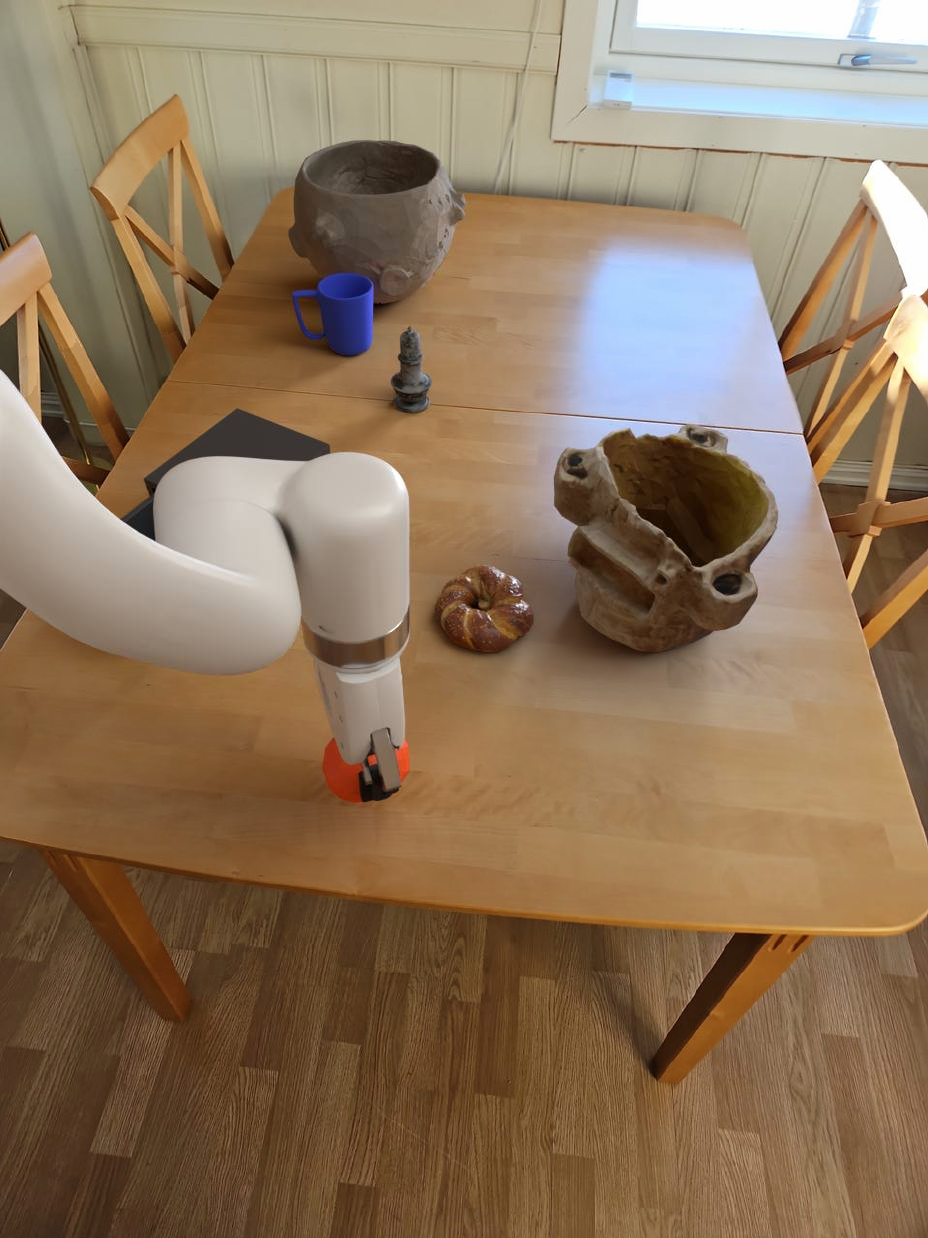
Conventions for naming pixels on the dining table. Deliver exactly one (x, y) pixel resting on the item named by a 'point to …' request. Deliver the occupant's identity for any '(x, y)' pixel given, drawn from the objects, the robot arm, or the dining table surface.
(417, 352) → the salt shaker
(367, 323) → the mug
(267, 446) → the cabinet
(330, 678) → the robot arm
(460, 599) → the pretzel
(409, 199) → the bowl
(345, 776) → the pumpkin
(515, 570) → the dining table surface
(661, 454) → the ceramic vessel
